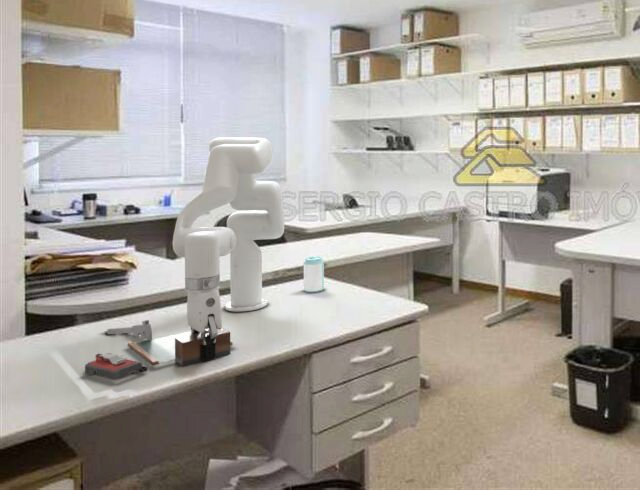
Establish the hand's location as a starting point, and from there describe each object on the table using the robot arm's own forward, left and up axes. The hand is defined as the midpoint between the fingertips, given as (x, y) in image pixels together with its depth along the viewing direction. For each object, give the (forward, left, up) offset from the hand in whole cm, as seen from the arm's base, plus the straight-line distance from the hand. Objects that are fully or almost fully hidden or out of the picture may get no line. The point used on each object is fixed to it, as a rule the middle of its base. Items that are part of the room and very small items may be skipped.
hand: (203, 356), depth 140 cm
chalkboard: (-14, -1, -2) cm, 14 cm away
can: (-44, +54, -2) cm, 70 cm away
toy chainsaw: (-10, -17, -2) cm, 20 cm away
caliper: (-34, -7, -2) cm, 35 cm away
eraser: (0, 0, 0) cm, 0 cm away
